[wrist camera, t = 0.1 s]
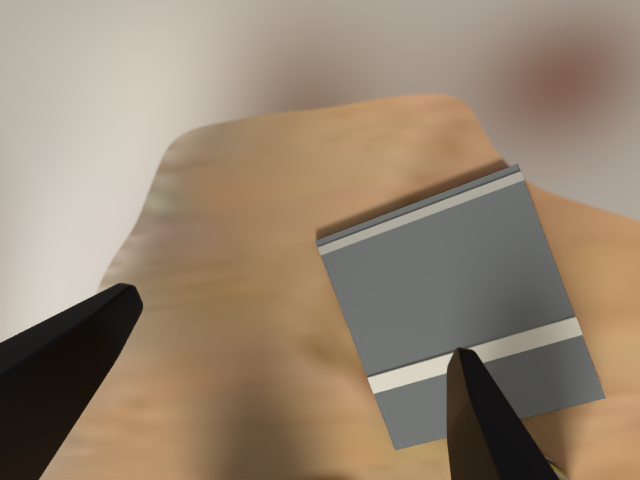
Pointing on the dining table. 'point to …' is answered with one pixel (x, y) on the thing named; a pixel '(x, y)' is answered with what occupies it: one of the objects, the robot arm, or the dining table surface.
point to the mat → (459, 305)
